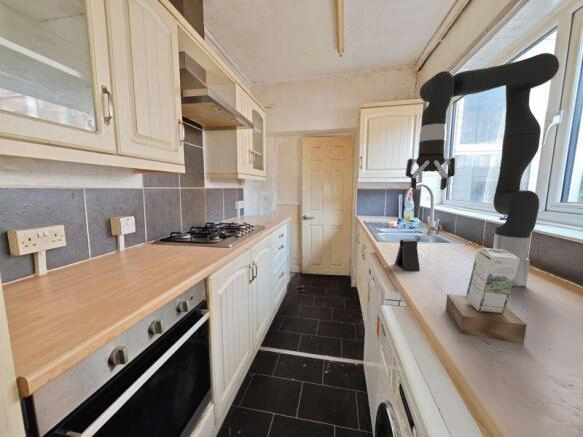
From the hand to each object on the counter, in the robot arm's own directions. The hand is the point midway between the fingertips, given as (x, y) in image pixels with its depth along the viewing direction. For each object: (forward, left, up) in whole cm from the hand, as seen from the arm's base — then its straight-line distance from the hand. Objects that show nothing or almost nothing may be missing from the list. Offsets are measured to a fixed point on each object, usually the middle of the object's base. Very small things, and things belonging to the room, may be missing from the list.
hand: (427, 189), depth 83 cm
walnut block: (-9, +25, -34) cm, 43 cm away
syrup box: (-9, +25, -28) cm, 39 cm away
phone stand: (+2, -16, -33) cm, 37 cm away
